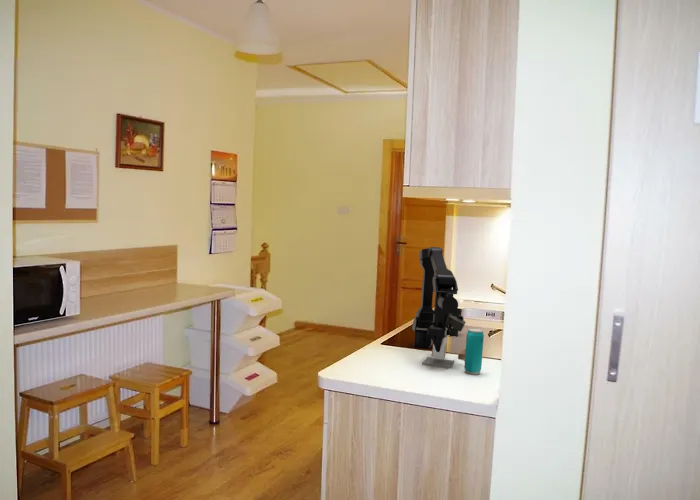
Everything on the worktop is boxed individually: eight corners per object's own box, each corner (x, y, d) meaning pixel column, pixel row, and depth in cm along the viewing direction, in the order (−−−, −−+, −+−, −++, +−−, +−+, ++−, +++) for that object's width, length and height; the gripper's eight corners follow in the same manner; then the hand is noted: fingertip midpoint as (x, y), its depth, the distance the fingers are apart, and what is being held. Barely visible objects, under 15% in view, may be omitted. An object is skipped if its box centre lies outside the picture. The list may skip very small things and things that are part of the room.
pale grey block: (432, 358, 208) (433, 336, 208) (434, 355, 212) (435, 334, 212) (443, 359, 207) (444, 337, 207) (445, 357, 211) (446, 335, 210)
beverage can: (481, 371, 202) (485, 329, 201) (479, 376, 196) (483, 332, 195) (465, 369, 203) (468, 327, 202) (462, 373, 198) (465, 330, 197)
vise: (431, 355, 221) (432, 350, 221) (436, 350, 230) (436, 345, 229) (478, 361, 215) (478, 356, 215) (481, 356, 224) (481, 351, 224)
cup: (462, 335, 262) (464, 309, 261) (456, 337, 256) (458, 311, 255) (446, 332, 266) (448, 306, 265) (440, 335, 260) (441, 308, 259)
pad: (421, 364, 207) (421, 362, 207) (427, 358, 216) (427, 356, 216) (449, 368, 203) (449, 366, 203) (454, 362, 213) (454, 360, 213)
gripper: (460, 314, 197) (457, 359, 198) (468, 306, 215) (465, 348, 216) (428, 310, 201) (425, 355, 202) (438, 303, 218) (435, 344, 219)
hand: (439, 350), depth 209 cm, fingers closed on pale grey block, 4 cm apart
